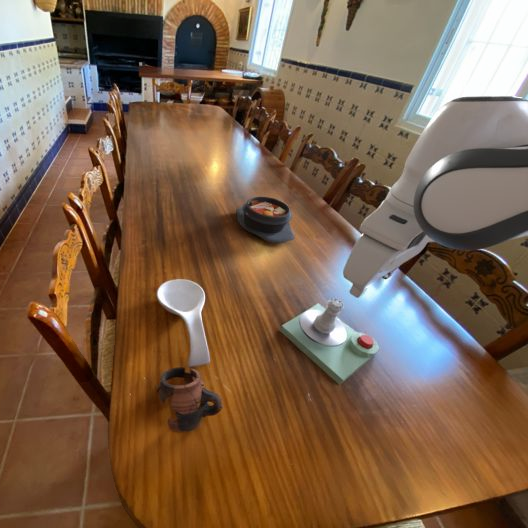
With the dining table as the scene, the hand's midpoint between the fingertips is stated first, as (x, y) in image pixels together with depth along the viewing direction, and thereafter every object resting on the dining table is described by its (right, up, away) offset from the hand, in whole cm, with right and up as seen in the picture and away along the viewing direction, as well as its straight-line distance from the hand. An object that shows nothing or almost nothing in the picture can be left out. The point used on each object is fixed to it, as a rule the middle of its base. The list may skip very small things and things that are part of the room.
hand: (370, 284), depth 53 cm
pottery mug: (-33, -23, +2) cm, 40 cm away
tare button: (+7, -14, +12) cm, 19 cm away
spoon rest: (-32, -10, +17) cm, 38 cm away
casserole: (-4, +17, +53) cm, 56 cm away
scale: (0, -14, +16) cm, 21 cm away
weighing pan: (-2, -11, +14) cm, 18 cm away
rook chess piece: (-2, -10, +14) cm, 18 cm away
